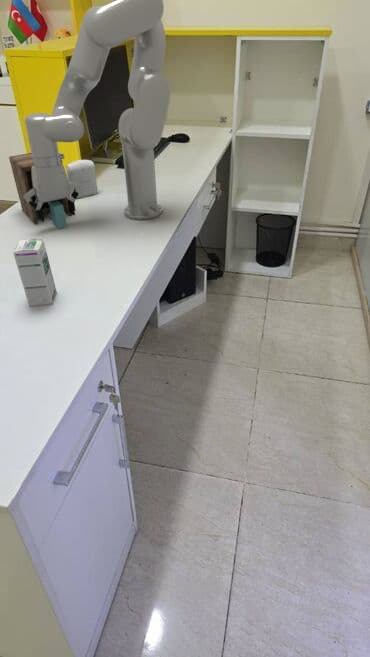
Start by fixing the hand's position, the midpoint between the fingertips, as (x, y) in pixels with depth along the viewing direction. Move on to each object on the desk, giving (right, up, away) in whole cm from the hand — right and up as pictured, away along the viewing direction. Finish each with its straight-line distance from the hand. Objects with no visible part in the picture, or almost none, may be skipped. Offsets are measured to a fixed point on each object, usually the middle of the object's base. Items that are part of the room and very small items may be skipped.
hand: (57, 217), depth 140 cm
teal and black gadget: (-4, +2, +8) cm, 9 cm away
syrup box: (+5, -28, -31) cm, 42 cm away
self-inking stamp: (-8, +5, +13) cm, 15 cm away
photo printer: (+3, +14, +24) cm, 28 cm away
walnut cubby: (-7, +4, +11) cm, 14 cm away
